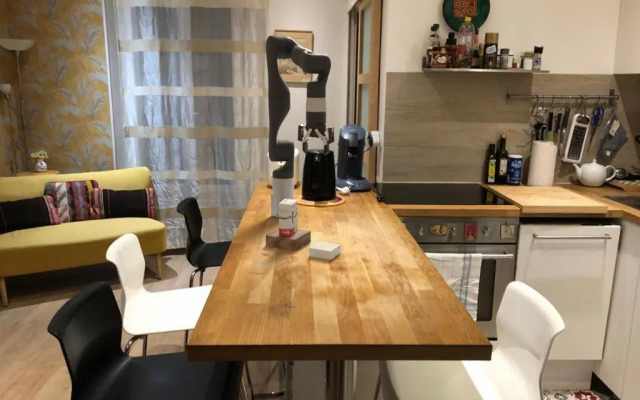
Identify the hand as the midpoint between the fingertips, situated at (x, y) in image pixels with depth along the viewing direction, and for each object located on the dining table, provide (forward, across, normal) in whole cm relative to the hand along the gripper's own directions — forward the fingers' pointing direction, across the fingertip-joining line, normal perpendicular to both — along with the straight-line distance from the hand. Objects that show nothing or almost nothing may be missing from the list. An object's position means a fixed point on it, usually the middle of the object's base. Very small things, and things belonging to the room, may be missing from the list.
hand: (315, 153), depth 194 cm
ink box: (+27, -2, -17) cm, 32 cm away
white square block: (+30, +15, -22) cm, 41 cm away
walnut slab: (+31, -2, -17) cm, 35 cm away
